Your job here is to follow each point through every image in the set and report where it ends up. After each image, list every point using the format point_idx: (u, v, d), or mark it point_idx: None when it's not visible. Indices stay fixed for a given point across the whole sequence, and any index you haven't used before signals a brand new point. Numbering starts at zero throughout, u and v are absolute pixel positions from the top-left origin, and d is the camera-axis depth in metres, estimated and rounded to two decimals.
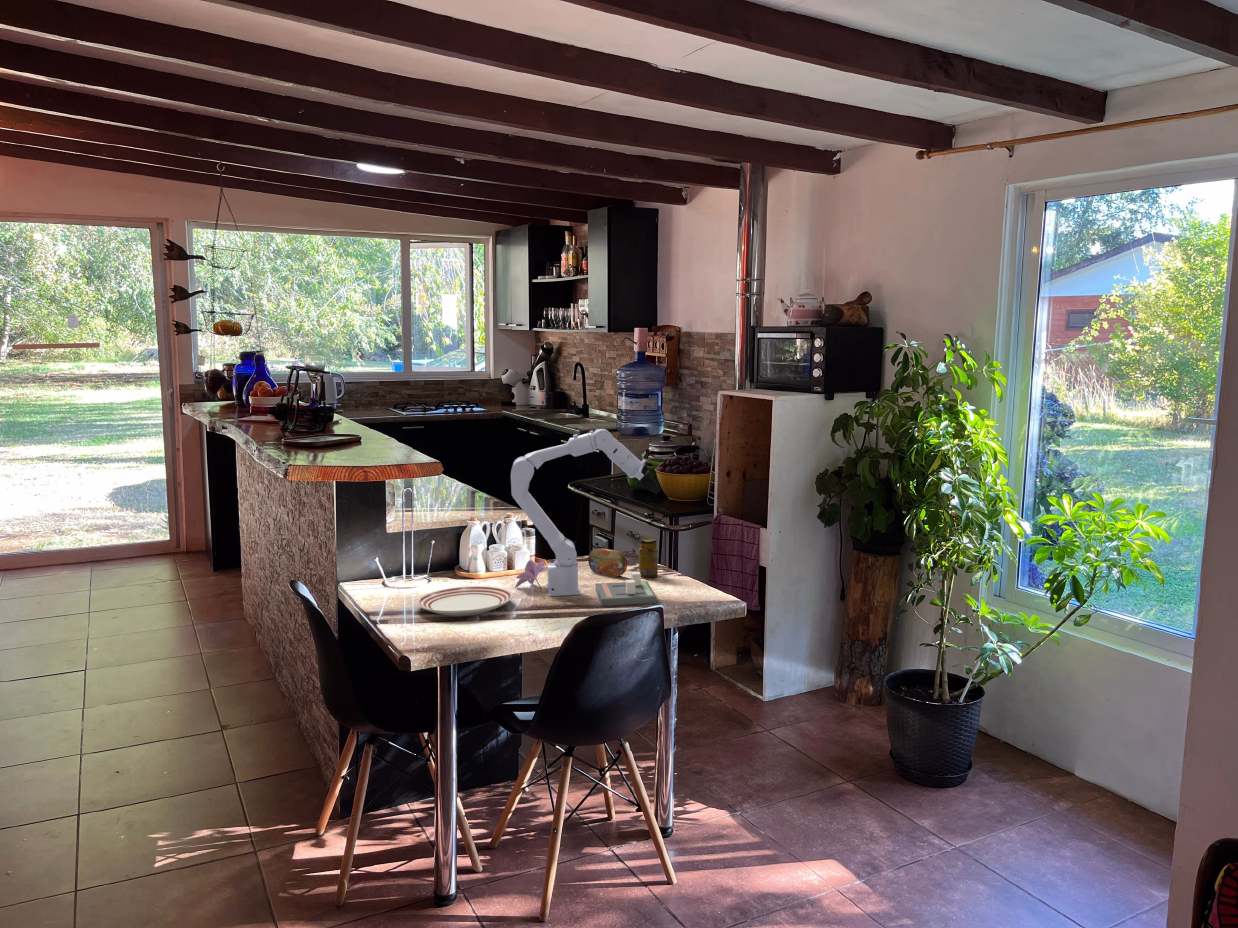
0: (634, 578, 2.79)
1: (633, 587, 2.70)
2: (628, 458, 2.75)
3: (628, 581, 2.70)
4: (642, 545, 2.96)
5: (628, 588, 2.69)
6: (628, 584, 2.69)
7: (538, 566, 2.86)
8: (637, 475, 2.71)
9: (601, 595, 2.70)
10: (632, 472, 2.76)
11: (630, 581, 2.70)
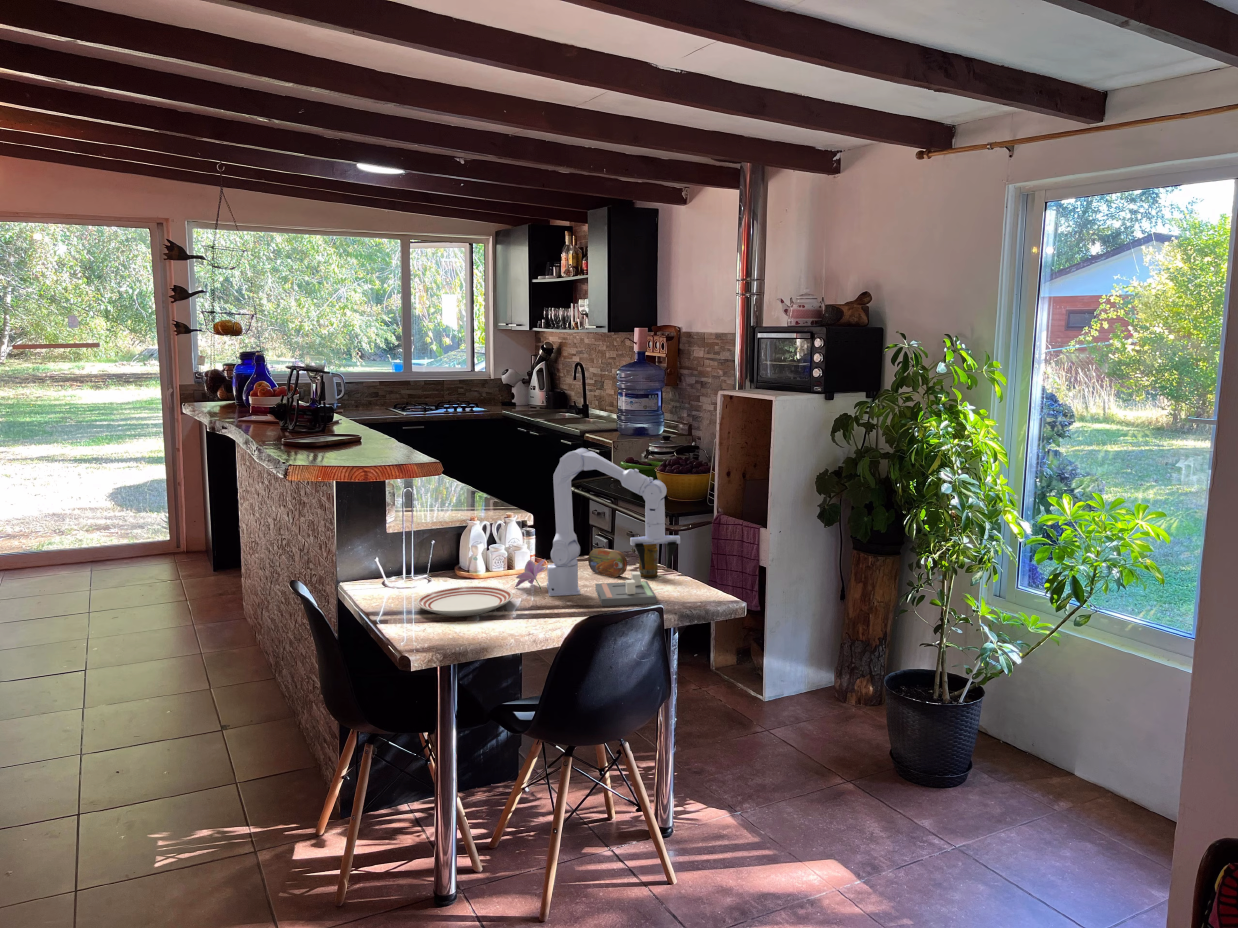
0: (634, 578, 2.79)
1: (633, 587, 2.70)
2: (647, 524, 2.68)
3: (628, 581, 2.70)
4: None
5: (628, 588, 2.69)
6: (628, 584, 2.69)
7: (538, 566, 2.86)
8: (630, 539, 2.69)
9: (601, 595, 2.70)
10: None
11: (630, 581, 2.70)
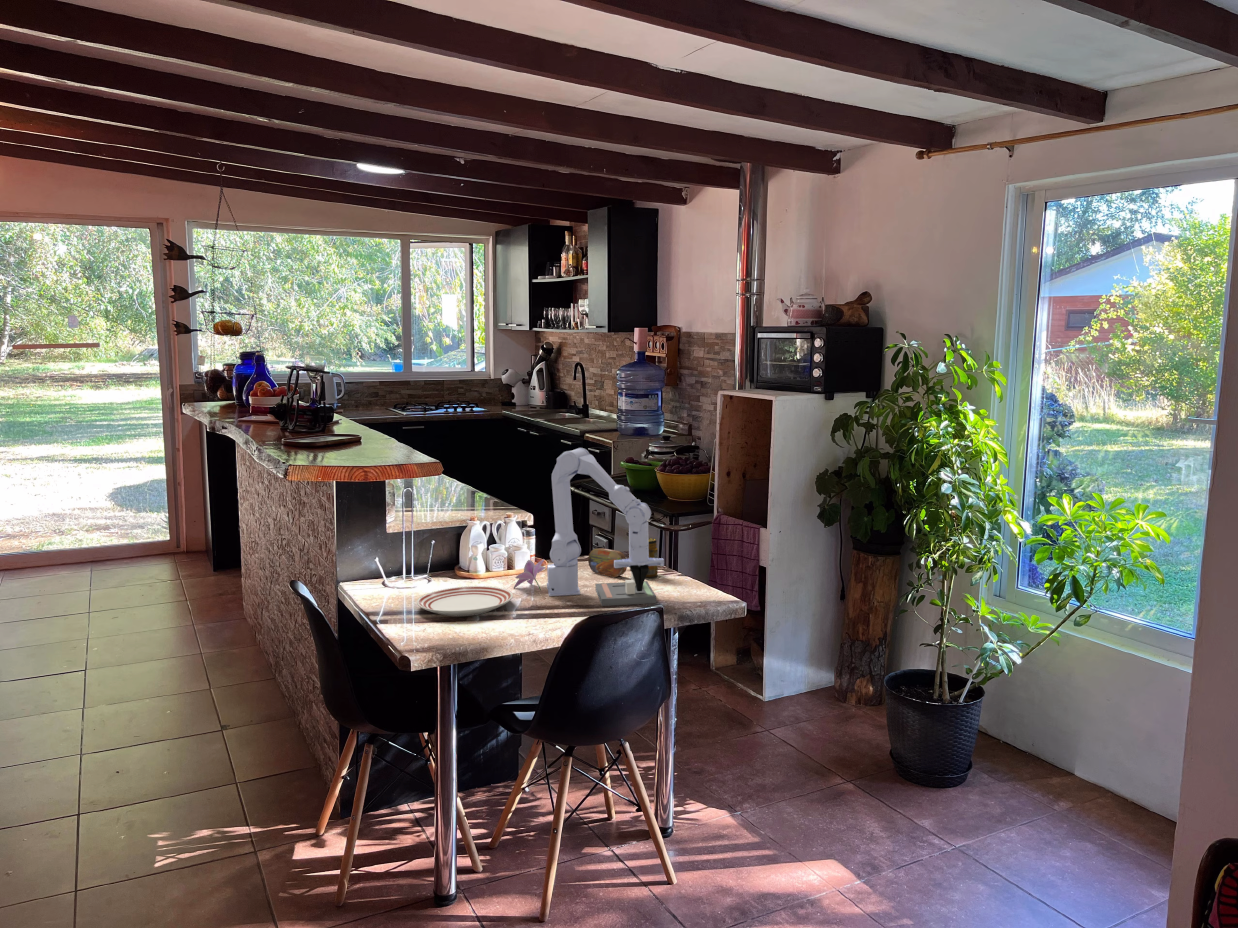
0: None
1: (633, 587, 2.70)
2: (630, 547, 2.68)
3: (628, 581, 2.70)
4: None
5: (628, 588, 2.69)
6: (628, 584, 2.69)
7: (537, 566, 2.86)
8: (614, 562, 2.70)
9: (601, 595, 2.70)
10: None
11: (630, 581, 2.70)
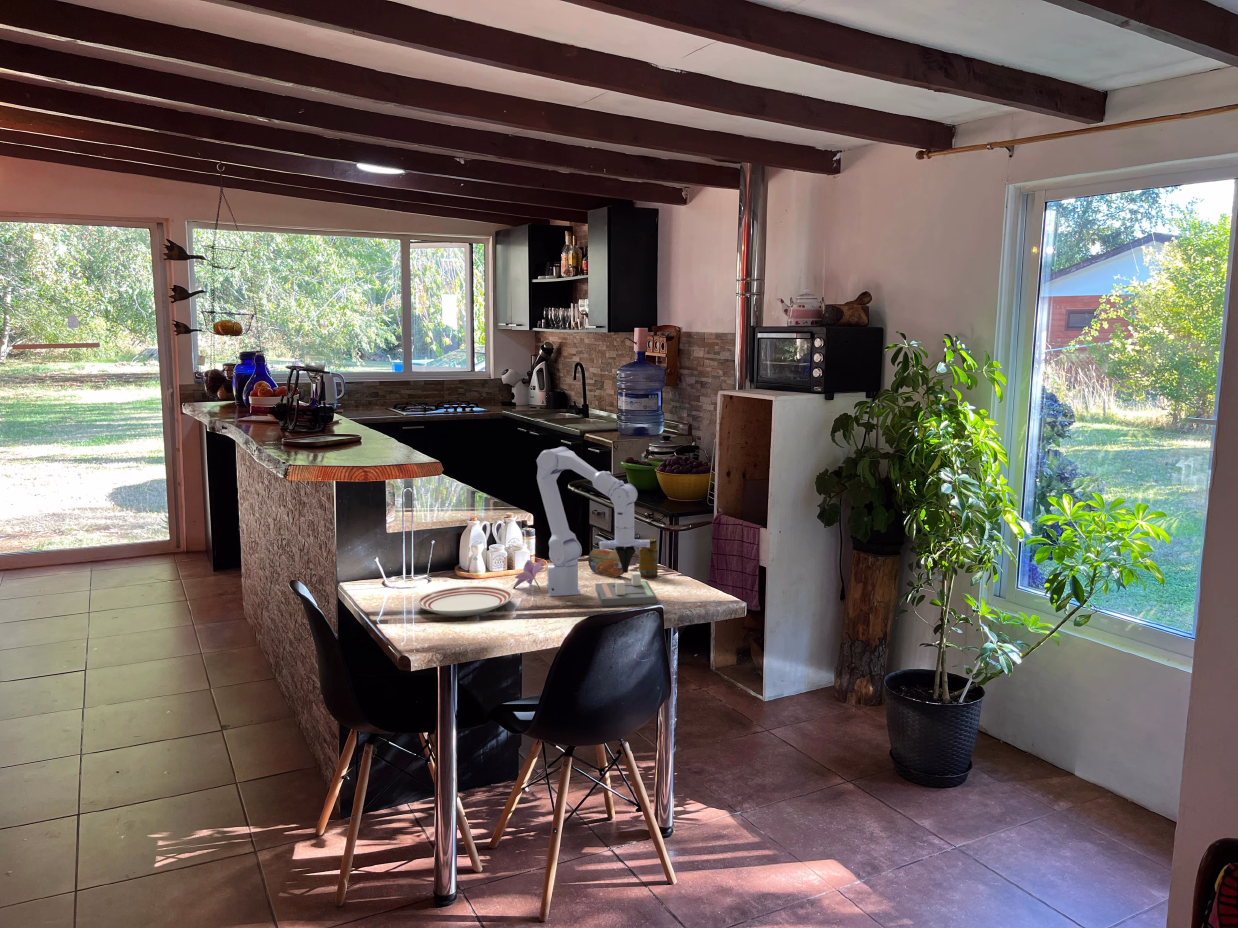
0: (634, 578, 2.79)
1: (623, 588, 2.69)
2: (616, 528, 2.67)
3: (618, 581, 2.70)
4: None
5: (618, 589, 2.69)
6: (618, 585, 2.69)
7: (536, 566, 2.86)
8: None
9: (601, 595, 2.70)
10: None
11: (620, 581, 2.70)
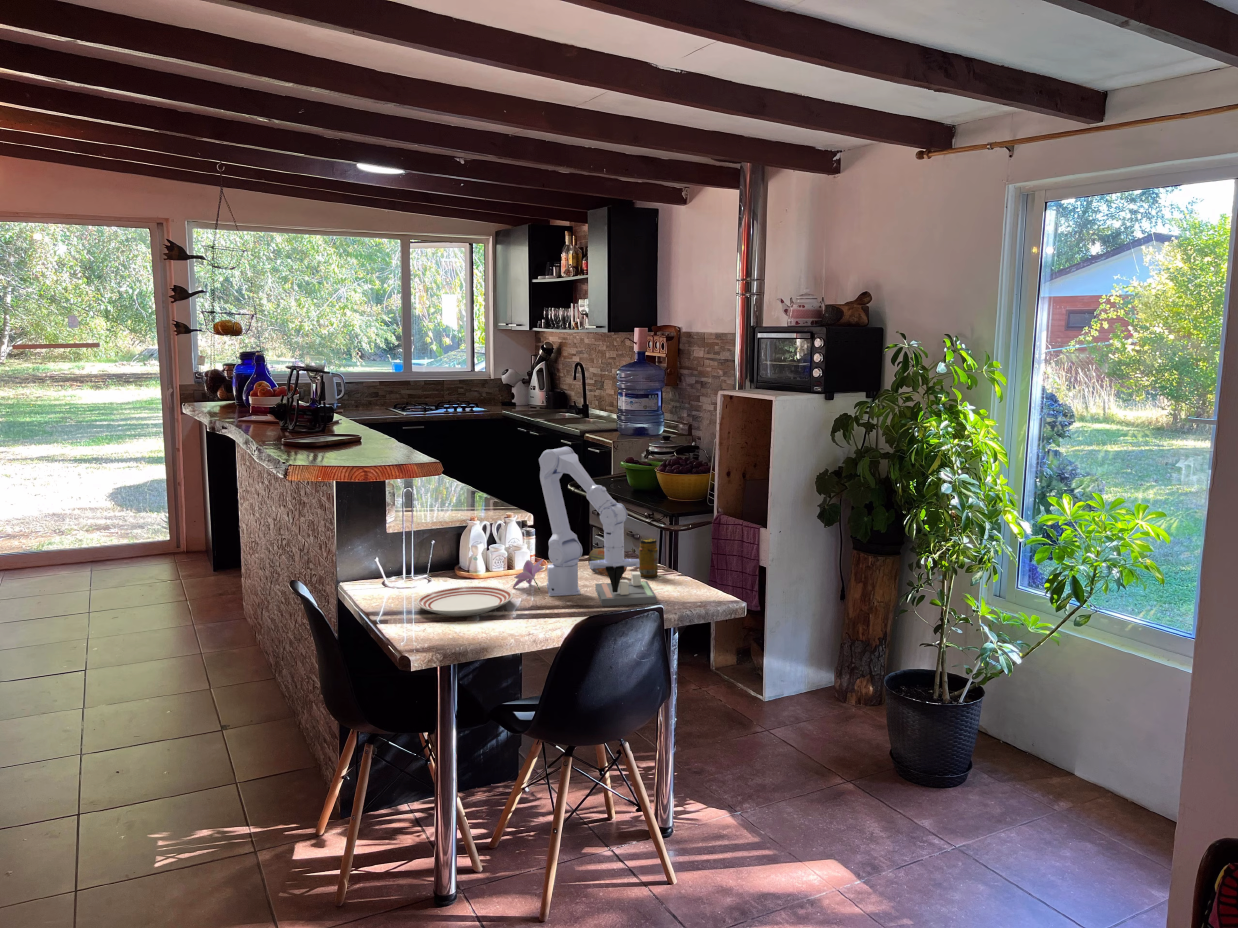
0: (634, 578, 2.79)
1: (626, 587, 2.69)
2: (605, 548, 2.67)
3: (621, 581, 2.70)
4: (642, 545, 2.96)
5: (621, 588, 2.69)
6: (621, 584, 2.69)
7: (536, 566, 2.86)
8: (589, 563, 2.69)
9: (601, 595, 2.70)
10: None
11: (623, 581, 2.70)
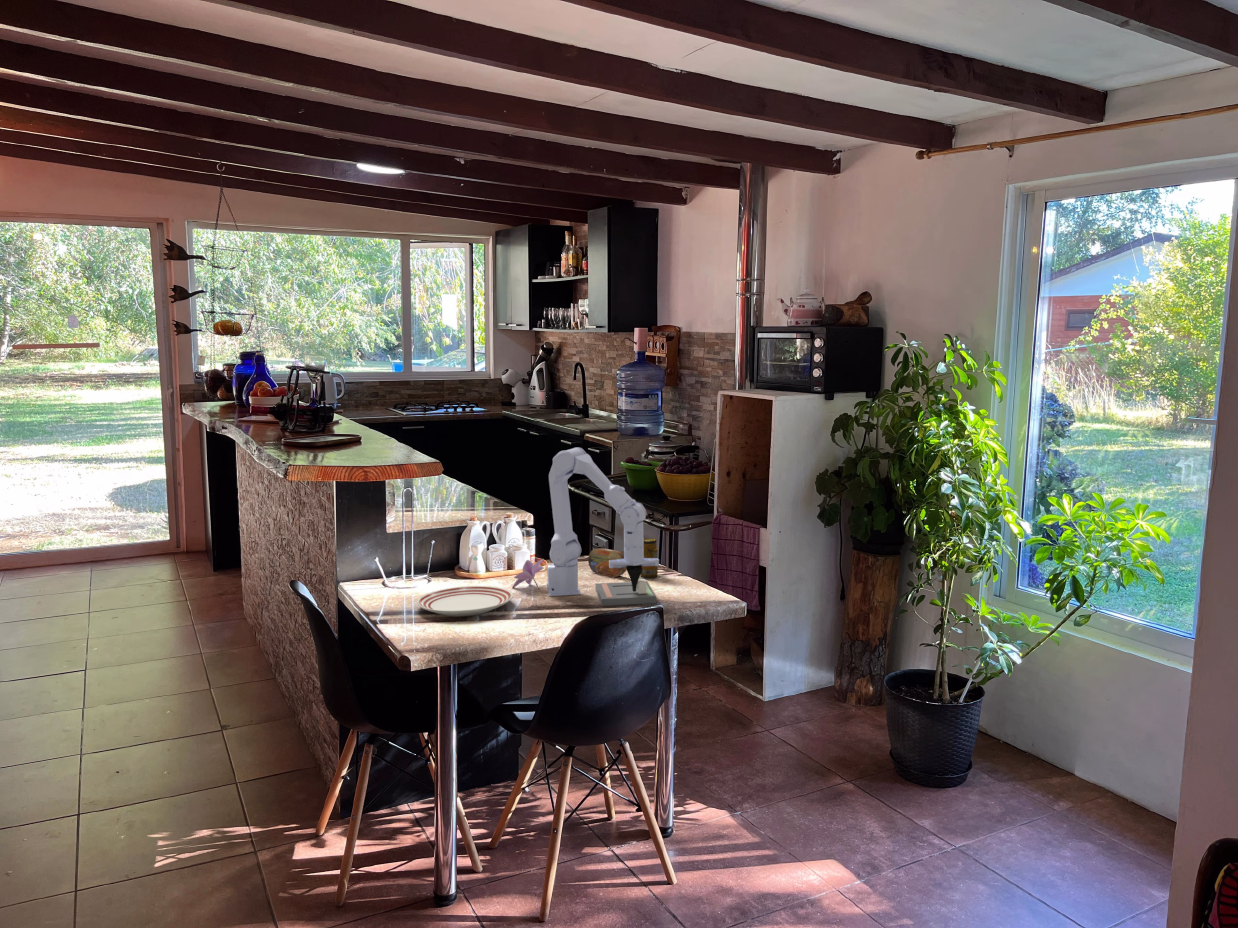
0: None
1: (644, 586, 2.70)
2: (625, 547, 2.68)
3: (639, 580, 2.71)
4: None
5: (639, 587, 2.70)
6: (639, 583, 2.70)
7: (536, 566, 2.86)
8: (609, 562, 2.69)
9: (601, 595, 2.70)
10: None
11: (641, 580, 2.71)
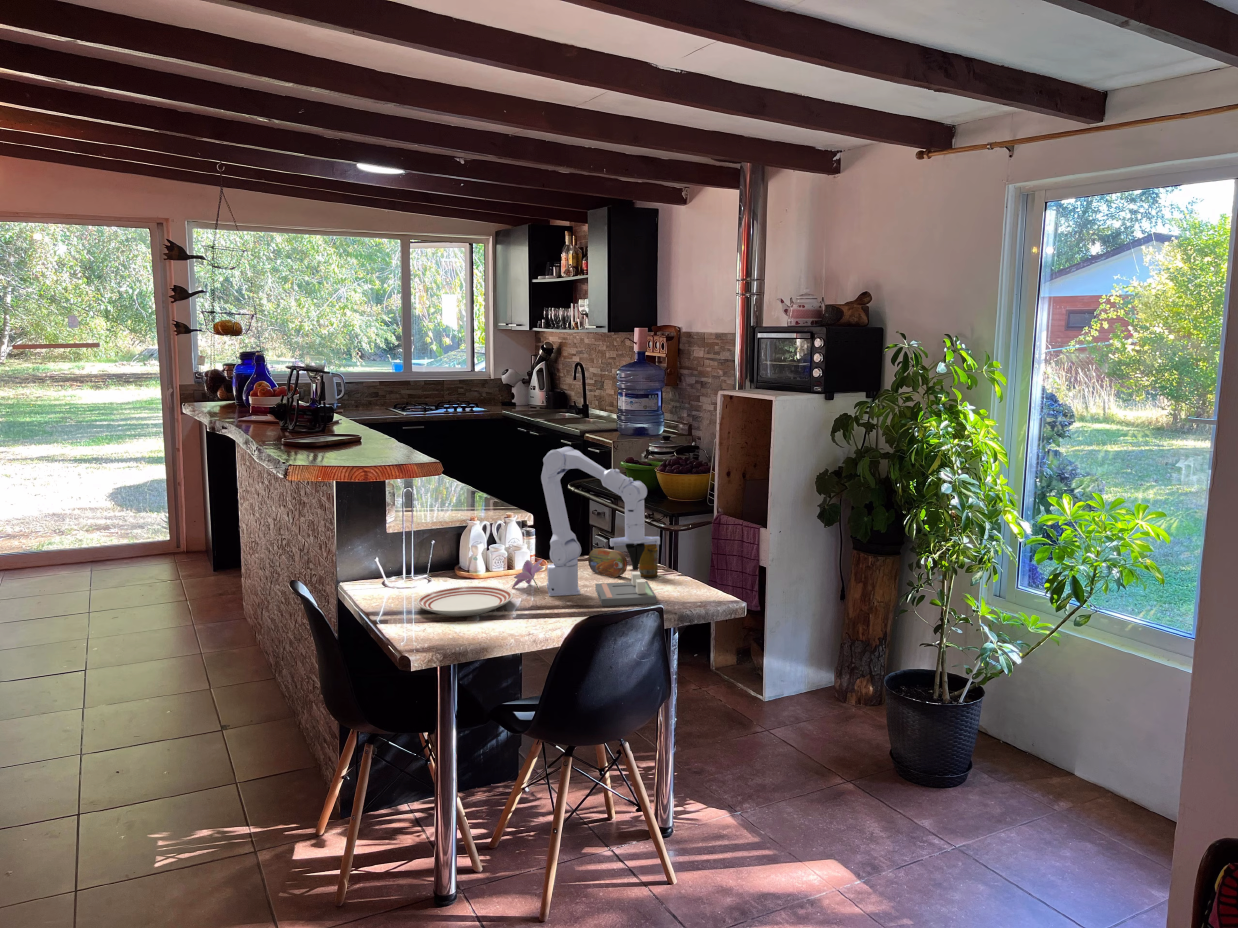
0: (634, 578, 2.79)
1: (643, 586, 2.70)
2: (626, 525, 2.67)
3: (638, 581, 2.71)
4: None
5: (638, 587, 2.70)
6: (638, 583, 2.70)
7: (535, 566, 2.86)
8: (610, 540, 2.69)
9: (601, 595, 2.70)
10: None
11: (640, 581, 2.71)
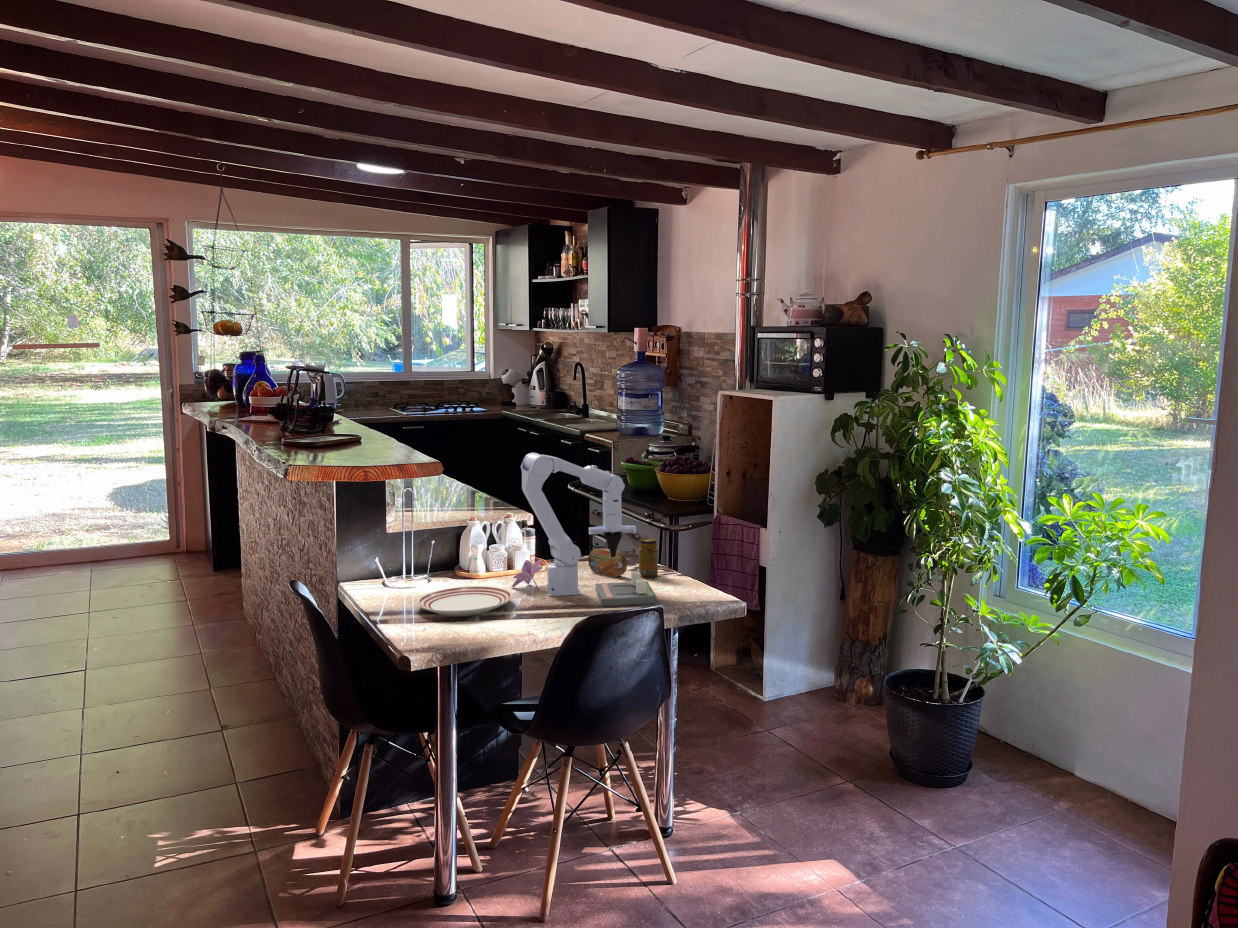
0: (634, 578, 2.79)
1: (643, 586, 2.70)
2: (604, 514, 2.83)
3: (638, 581, 2.71)
4: (642, 545, 2.96)
5: (638, 587, 2.70)
6: (638, 583, 2.70)
7: (535, 566, 2.86)
8: None
9: (601, 595, 2.70)
10: None
11: (640, 581, 2.71)
